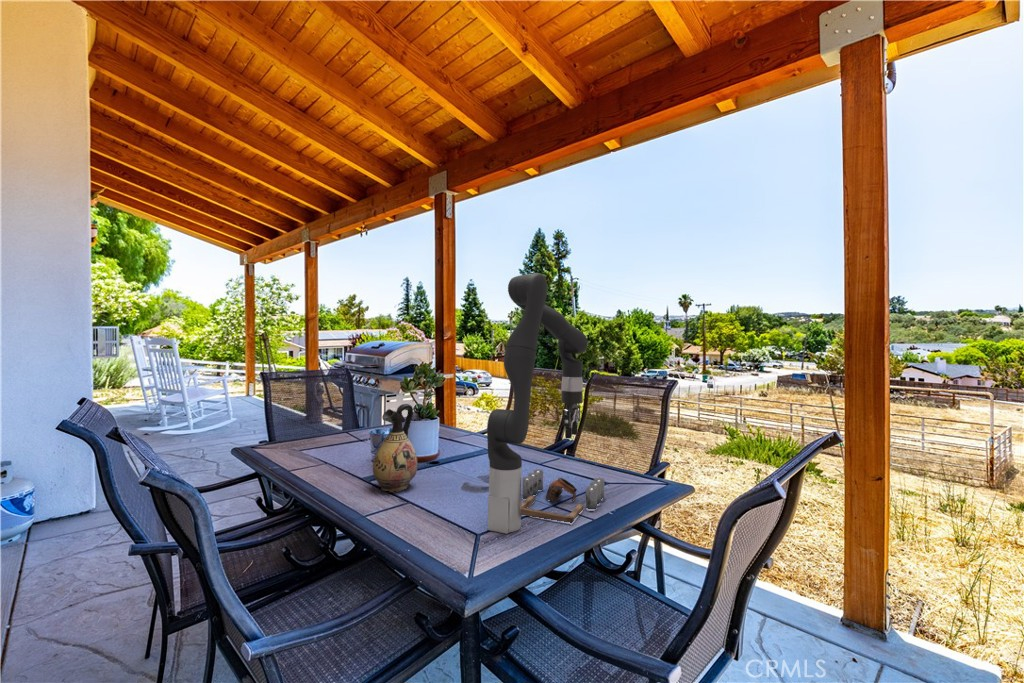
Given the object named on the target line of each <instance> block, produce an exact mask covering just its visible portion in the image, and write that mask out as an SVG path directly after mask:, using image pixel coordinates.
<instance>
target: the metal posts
mask: <svg viewBox="0 0 1024 683" xmlns="http://www.w3.org/2000/svg"><path fill="white" fill-rule="evenodd" d="M542 489H543V490H544V470H543V469H540V468H539V469H537V468H536V469H533V472H528V474H527V476H523V477H521V499H522V498H523V499H527V498H528V497H530V496H533V495H536V494H538V495H539V492H538V490H542ZM602 498H604V499H605V479H604V478H602V477H594V479H593V481H591V482H590V483H589V485H588V486H586V487H585V509H586V508H588V509H596V508H597V509H598V507H597V504H599V503H602V502H601V499H602ZM523 499H522V500H523Z"/></svg>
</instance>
